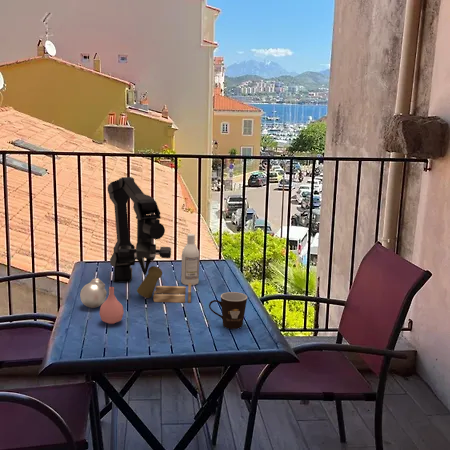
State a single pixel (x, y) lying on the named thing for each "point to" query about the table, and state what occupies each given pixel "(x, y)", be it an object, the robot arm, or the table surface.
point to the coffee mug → (232, 309)
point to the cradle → (171, 294)
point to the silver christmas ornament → (93, 293)
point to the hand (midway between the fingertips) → (144, 274)
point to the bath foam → (190, 262)
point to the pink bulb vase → (111, 309)
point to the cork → (149, 282)
